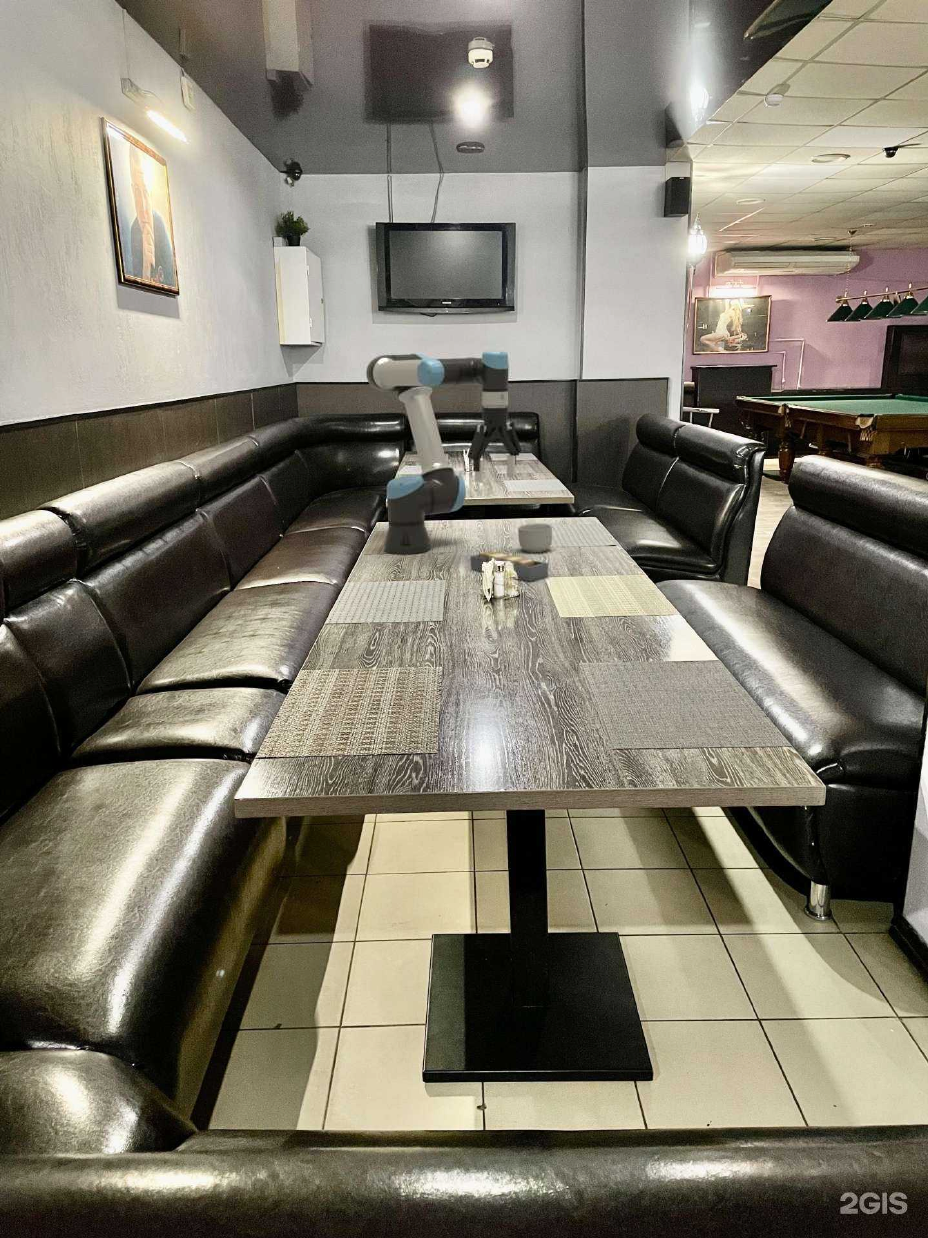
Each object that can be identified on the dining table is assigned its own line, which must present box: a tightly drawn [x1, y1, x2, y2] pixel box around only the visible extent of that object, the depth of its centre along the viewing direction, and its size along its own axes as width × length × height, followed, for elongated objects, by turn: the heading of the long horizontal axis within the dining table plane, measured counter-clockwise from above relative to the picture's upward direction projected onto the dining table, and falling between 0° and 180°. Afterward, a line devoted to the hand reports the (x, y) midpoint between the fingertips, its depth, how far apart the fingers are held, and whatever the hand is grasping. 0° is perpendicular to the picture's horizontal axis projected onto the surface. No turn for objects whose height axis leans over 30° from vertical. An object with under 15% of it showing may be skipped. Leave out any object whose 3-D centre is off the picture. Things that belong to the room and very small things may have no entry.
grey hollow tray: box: [514, 560, 549, 583], centre depth 243 cm, size 6×8×4 cm
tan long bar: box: [480, 550, 535, 567], centre depth 250 cm, size 18×4×5 cm, turn 41°
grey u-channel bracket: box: [470, 554, 488, 573], centre depth 255 cm, size 6×8×4 cm
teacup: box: [517, 522, 553, 554], centre depth 279 cm, size 14×11×8 cm
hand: (495, 479), depth 260 cm, fingers open, 13 cm apart
